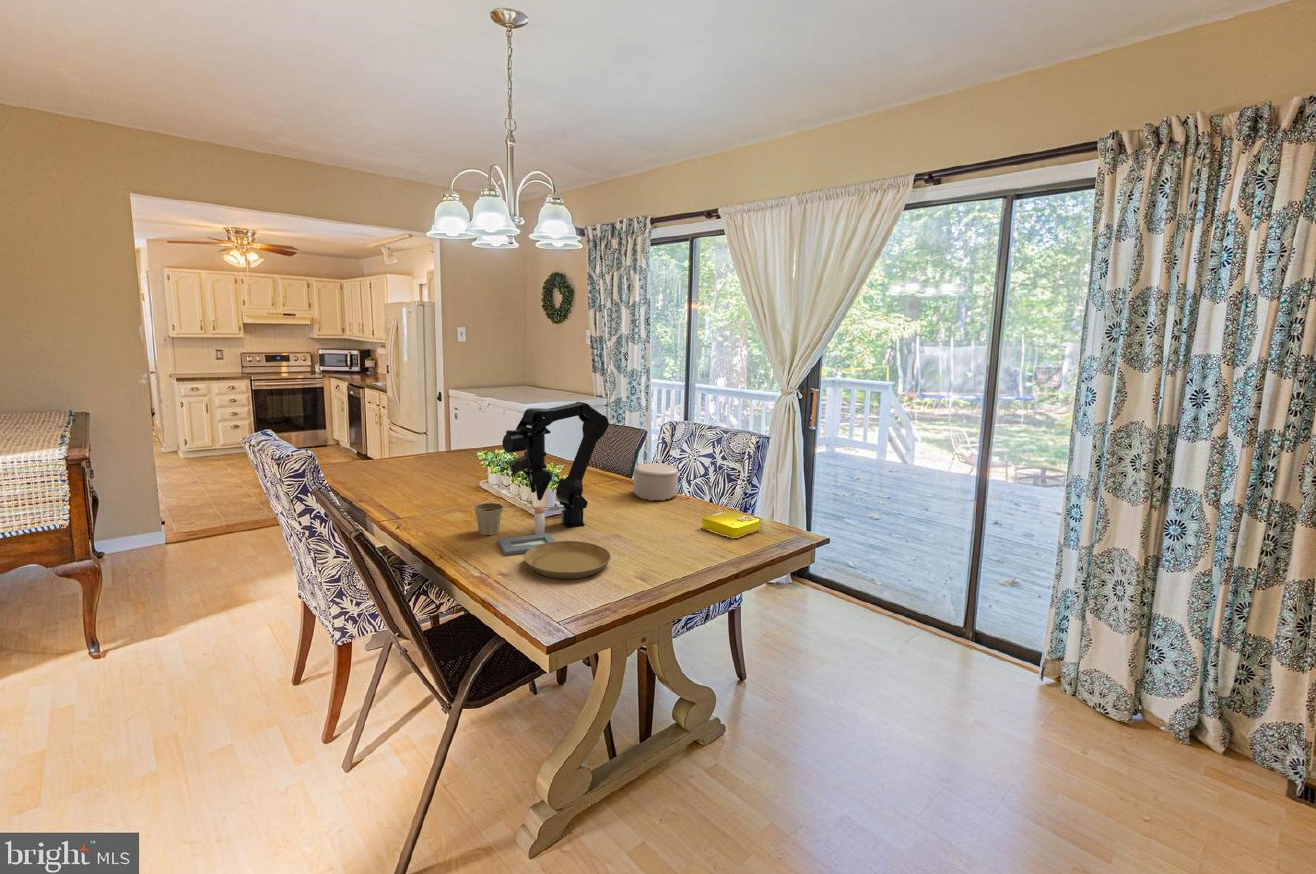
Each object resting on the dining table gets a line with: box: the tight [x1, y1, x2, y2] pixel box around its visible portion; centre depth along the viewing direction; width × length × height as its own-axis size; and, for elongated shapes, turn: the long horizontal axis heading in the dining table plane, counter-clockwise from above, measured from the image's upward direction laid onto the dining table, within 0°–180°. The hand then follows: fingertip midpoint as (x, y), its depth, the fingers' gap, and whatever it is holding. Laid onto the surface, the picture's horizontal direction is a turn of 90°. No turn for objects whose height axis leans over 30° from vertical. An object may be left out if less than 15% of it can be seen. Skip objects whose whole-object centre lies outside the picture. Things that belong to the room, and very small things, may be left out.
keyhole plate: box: [497, 532, 556, 557], centre depth 189 cm, size 16×12×1 cm
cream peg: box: [534, 506, 546, 535], centre depth 199 cm, size 3×3×9 cm
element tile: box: [701, 509, 761, 537], centre depth 211 cm, size 15×15×5 cm
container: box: [632, 462, 679, 501], centre depth 250 cm, size 18×18×12 cm
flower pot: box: [472, 502, 505, 536], centre depth 199 cm, size 9×9×9 cm
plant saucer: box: [523, 540, 612, 580], centre depth 175 cm, size 24×24×3 cm
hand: (536, 496), depth 198 cm, fingers open, 9 cm apart
